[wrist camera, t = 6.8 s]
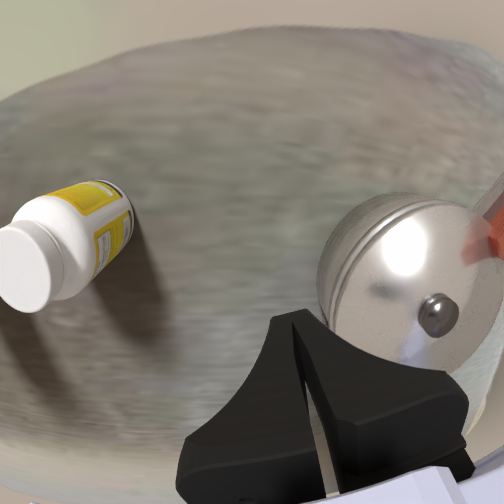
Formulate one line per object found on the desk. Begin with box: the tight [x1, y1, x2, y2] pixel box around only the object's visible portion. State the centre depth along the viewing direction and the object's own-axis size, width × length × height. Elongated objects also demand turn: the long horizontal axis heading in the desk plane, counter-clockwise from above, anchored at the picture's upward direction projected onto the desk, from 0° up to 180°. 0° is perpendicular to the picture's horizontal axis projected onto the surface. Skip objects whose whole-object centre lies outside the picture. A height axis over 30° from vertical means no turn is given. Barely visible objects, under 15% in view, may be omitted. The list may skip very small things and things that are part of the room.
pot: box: [317, 172, 504, 331], centre depth 20 cm, size 20×13×5 cm, turn 134°
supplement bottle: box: [0, 180, 134, 313], centre depth 16 cm, size 5×5×10 cm
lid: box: [333, 203, 504, 375], centre depth 16 cm, size 18×12×2 cm
